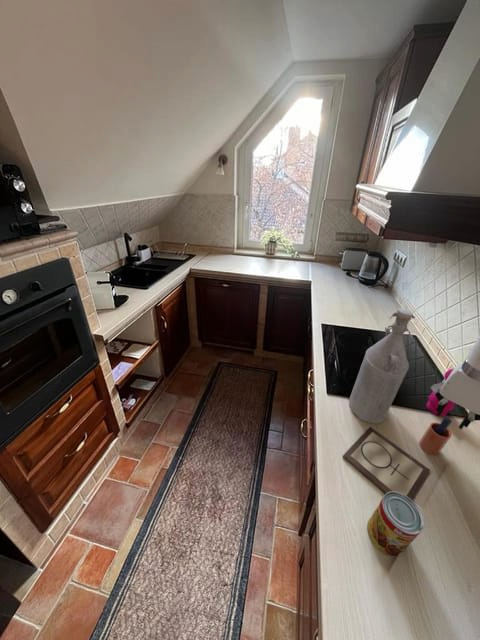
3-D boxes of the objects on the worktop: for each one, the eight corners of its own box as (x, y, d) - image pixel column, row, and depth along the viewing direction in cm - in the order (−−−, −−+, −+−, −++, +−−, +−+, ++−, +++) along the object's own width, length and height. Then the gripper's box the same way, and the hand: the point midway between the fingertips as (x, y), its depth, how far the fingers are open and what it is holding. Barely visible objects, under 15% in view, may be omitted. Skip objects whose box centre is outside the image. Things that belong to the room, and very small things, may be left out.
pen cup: (440, 449, 79) (453, 431, 74) (434, 459, 76) (447, 441, 71) (422, 437, 82) (433, 419, 78) (415, 446, 80) (427, 428, 75)
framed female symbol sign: (429, 472, 73) (431, 469, 72) (405, 511, 64) (407, 509, 64) (369, 428, 85) (370, 426, 84) (342, 456, 76) (343, 454, 76)
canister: (347, 418, 88) (382, 321, 68) (350, 385, 102) (381, 296, 81) (387, 432, 84) (438, 333, 63) (385, 396, 97) (427, 304, 77)
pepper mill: (424, 399, 97) (448, 358, 86) (447, 408, 93) (475, 367, 83) (423, 411, 91) (448, 369, 81) (447, 421, 88) (476, 379, 78)
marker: (433, 447, 79) (452, 419, 72) (431, 451, 78) (450, 423, 71) (426, 443, 80) (445, 415, 73) (424, 446, 79) (443, 418, 72)
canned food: (387, 564, 56) (407, 542, 49) (359, 524, 62) (374, 500, 56) (411, 546, 58) (433, 523, 52) (382, 509, 64) (399, 485, 58)
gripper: (531, 383, 59) (491, 433, 68) (446, 349, 70) (422, 395, 80) (526, 399, 55) (484, 449, 64) (436, 359, 66) (412, 407, 76)
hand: (450, 419), depth 72 cm, fingers open, 4 cm apart
